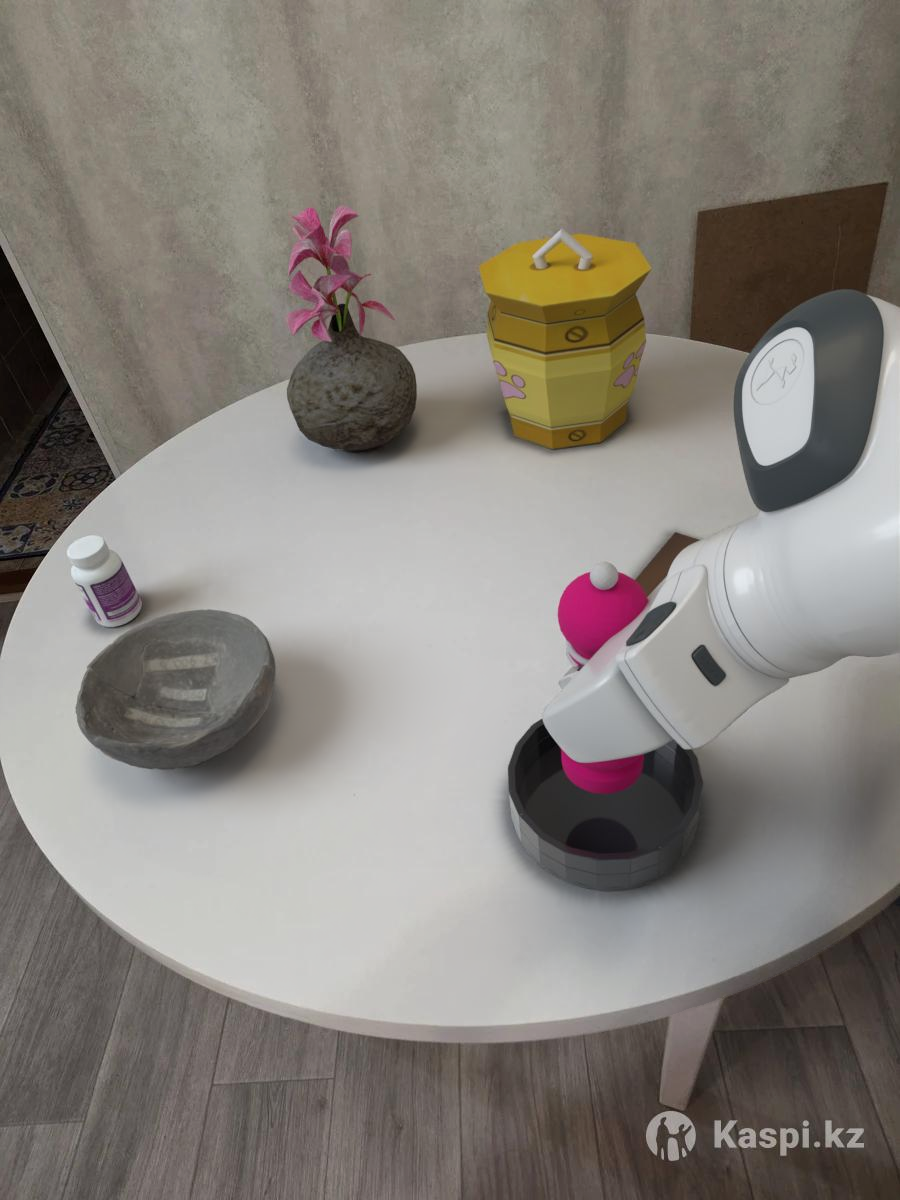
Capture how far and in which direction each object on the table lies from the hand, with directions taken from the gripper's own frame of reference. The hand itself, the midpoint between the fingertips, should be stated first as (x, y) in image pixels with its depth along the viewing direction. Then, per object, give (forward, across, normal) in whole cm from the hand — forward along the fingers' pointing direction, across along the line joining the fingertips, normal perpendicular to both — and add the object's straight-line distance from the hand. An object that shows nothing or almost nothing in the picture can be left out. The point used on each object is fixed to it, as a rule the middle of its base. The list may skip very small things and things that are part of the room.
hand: (595, 657), depth 60 cm
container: (+39, -50, -14) cm, 64 cm away
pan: (+12, 0, +13) cm, 18 cm away
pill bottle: (+53, +9, -28) cm, 61 cm away
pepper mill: (+8, 0, +9) cm, 12 cm away
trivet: (+16, -28, +9) cm, 34 cm away
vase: (+54, -32, -28) cm, 68 cm away
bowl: (+38, +14, -12) cm, 43 cm away
